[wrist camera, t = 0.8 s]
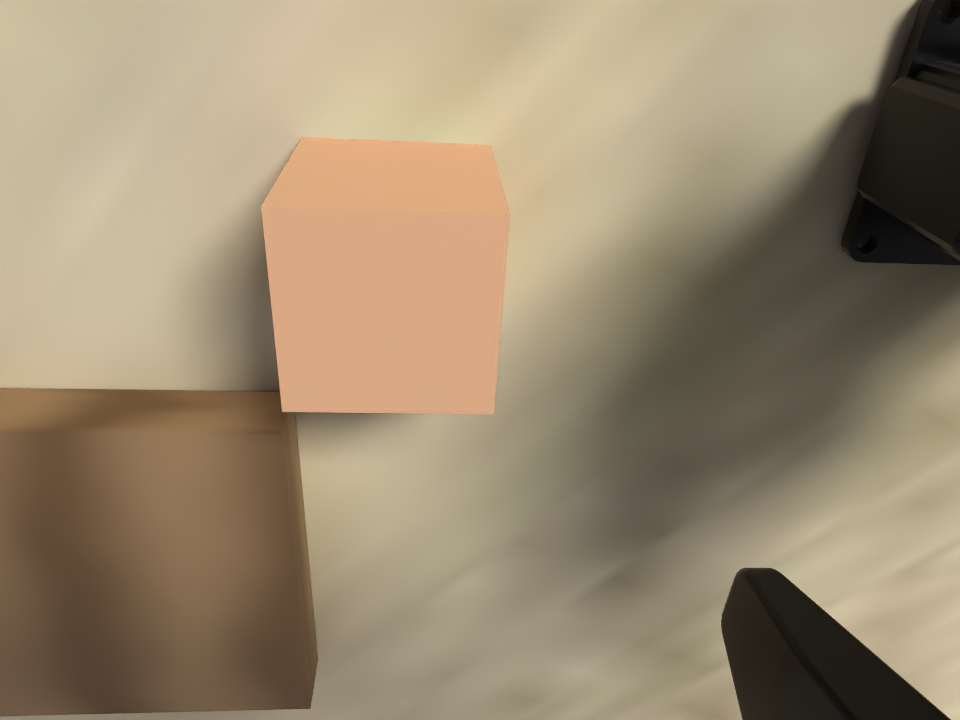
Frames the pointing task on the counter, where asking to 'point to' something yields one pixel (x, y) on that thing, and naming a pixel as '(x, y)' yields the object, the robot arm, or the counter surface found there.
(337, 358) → the terracotta block
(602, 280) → the counter surface
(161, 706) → the walnut base
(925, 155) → the robot arm
